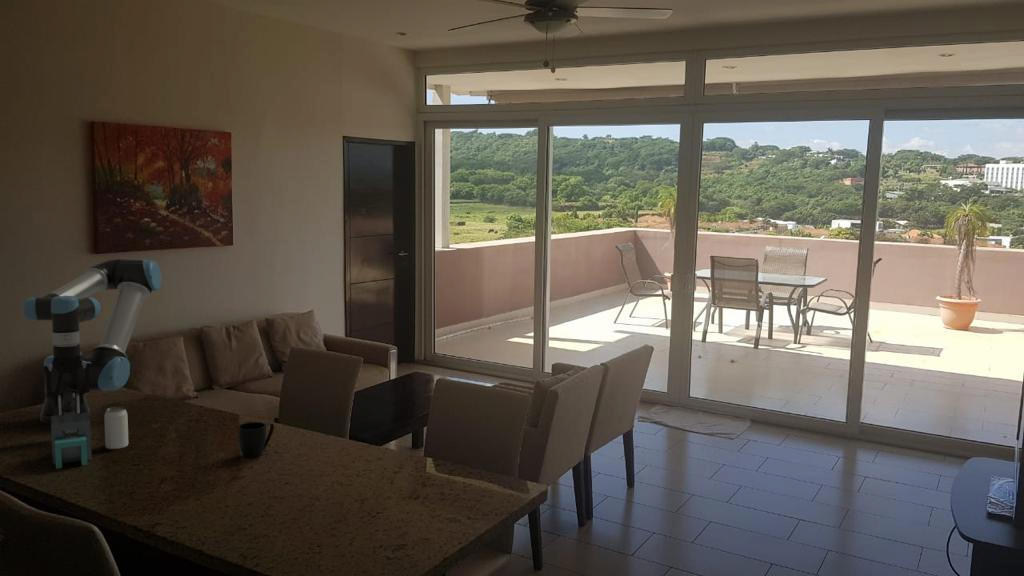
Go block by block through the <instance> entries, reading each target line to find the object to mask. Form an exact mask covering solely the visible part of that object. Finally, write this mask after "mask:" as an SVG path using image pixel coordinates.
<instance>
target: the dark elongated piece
mask: <svg viewBox="0 0 1024 576" xmlns="http://www.w3.org/2000/svg"><path fill="white" fill-rule="evenodd" d="M61 410H62V412H64V415H65V414H74V413H75V411H76V410H77V395H76V391H73V390H71V391H63V392H61ZM64 433H65V434H64V436H65V437H66V438H74V437H77V434H78V430H70V431H64Z"/></svg>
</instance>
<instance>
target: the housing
mask: <svg viewBox="0 0 1024 576" xmlns="http://www.w3.org/2000/svg"><path fill="white" fill-rule="evenodd" d="M90 417H91V415H90V416H89V412H84V413H74V414H65V415H55V416H51V424H50V428H51V431H50V432H51V433H50V434H51V448H52V449H51V451H52V454H51V455H52V465H56V459H55V440H57V439H66V437H65V435H64V434H63V432H65V431H70V430H77V431H78V432H79V433H77V437H83V436H86V440H87V461H90V460H93V459H92V434H91V433H92V430H91V418H90ZM61 454H62V464H67V463H73V462H74V463H75V462H81V446H73V447H65V448H61Z"/></svg>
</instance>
